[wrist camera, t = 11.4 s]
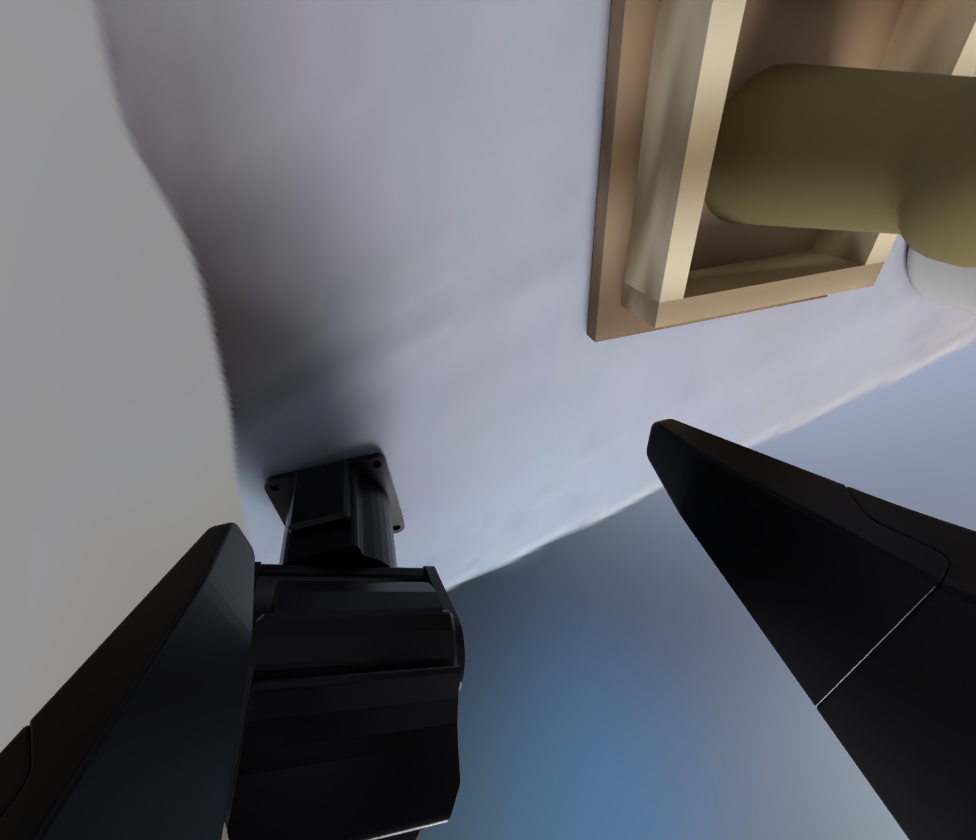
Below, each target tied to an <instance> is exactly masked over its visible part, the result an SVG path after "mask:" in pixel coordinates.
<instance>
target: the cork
mask: <svg viewBox="0 0 976 840" xmlns="http://www.w3.org/2000/svg"><path fill="white" fill-rule="evenodd" d="M704 200H705V202H706V205H707V207H708V209H709V210H710V211H711V212H712V213H713V214H714V215H715V216H716V217H717V218H718V219H720V220H723V221H727V222H731V223H737V224H752V225H767V226H783V227H798V228H813V229H829V230H844V231H859V232H874V233H890V234H901V235H902V237H903V238H904V240H905V241H906V243H907V244H908V245H909V247H910V248H911V249H912V250H914V251H916V252H918V253H919V254H921V255H923V256H925V257H926V258H929V259H933V260H936V261H940V262H943V263H947V264H951V265H955V266H959V267H963V268H976V77H970V76H957V75H944V74H930V73H917V72H904V71H891V70H878V69H864V68H851V67H838V66H825V65H812V64H798V63H789V64H778V65H772V66H770V67H769V68H767V69H765V70H763V71H761V72H759V73H757V74H755V75H753V76H752V77H751V78H750V79H749V80H748V81H747V82H746V83H744V84H743V85H742V86H741V87H740V88H739V89H738V90H737V91H736V92H735V93H734V94H733V95H732V96H731V98H730V99H729V101H728V102H727V104H726V105H725V107H724V108H723V113H722V118H721V122H720V127H719V132H718V137H717V141H716V146H715V151H714V156H713V160H712V165H711V170H710V175H709V179H708V184H707V189H706V193H705V198H704Z"/></svg>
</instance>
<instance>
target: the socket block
mask: <svg viewBox="0 0 976 840" xmlns="http://www.w3.org/2000/svg"><path fill="white" fill-rule="evenodd" d="M789 63H798V64H812V65H825V66H838V67H851V68H864V69H878V70H891V71H904V72H917V73H930V74H944V75H957V76H970V77H973V76H974V74H975V72H976V0H612V5H611V18H610V32H609V45H608V59H607V72H606V85H605V99H604V112H603V126H602V139H601V152H600V166H599V179H598V192H597V206H596V219H595V233H594V246H593V259H592V273H591V286H590V299H589V313H588V326H587V335H588V336H589V337H590V338H591V339H592V340H594V341H595V342H598V341H603V340H608V339H613V338H618V337H624V336H629V335H634V334H639V333H644V332H649V331H654V330H659V329H664V328H670V327H675V326H680V325H685V324H690V323H695V322H700V321H705V320H710V319H716V318H721V317H726V316H731V315H736V314H741V313H746V312H751V311H757V310H762V309H767V308H772V307H777V306H782V305H787V304H792V303H797V302H803V301H808V300H813V299H818V298H823V297H827V295H828V294H833V293H838V292H843V291H849V290H854V289H859V288H864V287H869V286H873V285H874V283H875V281H876V279H877V277H878V275H879V273H880V271H881V268H882V266H883V264H884V262H885V260H886V258H887V256H888V254H889V252H890V250H891V248H892V246H893V243H894V241H895V239H896V237H897V235H898V234H890V233H874V232H859V231H844V230H829V229H813V228H798V227H783V226H767V225H752V224H737V223H731V222H727V221H723V220H720V219H718V218H717V217H716V216H715V215H714V214H713V213H712V212H711V211H710V210H709V209H708V207H707V205H706V202H705V200H704V198H705V193H706V189H707V184H708V179H709V175H710V170H711V165H712V160H713V156H714V151H715V146H716V141H717V137H718V132H719V127H720V122H721V118H722V113H723V108H724V107H725V105H726V104H727V102H728V101H729V99H730V98H731V96H732V95H733V94H734V93H735V92H736V91H737V90H738V89H739V88H740V87H741V86H742V85H743V84H744V83H746V82H747V81H748V80H749V79H750V78H751V77H752V76H753V75H755V74H757V73H759V72H761V71H763V70H765V69H767V68H769V67H770V66H772V65H778V64H789Z"/></svg>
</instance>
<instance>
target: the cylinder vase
mask: <svg viewBox="0 0 976 840" xmlns="http://www.w3.org/2000/svg"><path fill="white" fill-rule="evenodd" d="M907 270H908V276H909V280H910V282H911V285H912V286H913V288H914V289H915V291H916V292H917V293H918V294H919V295H921V296H922V297H923V298H925V299H927V300H930V301H932V302H936V303H939V304H942V305H945V306H949V307H952V308H955V309H958V310H962V311H965V312H968V313H971V314H975V315H976V268H963V267H959V266H955V265H951V264H947V263H943V262H940V261H936V260H933V259H929V258H926V257H925V256H923V255H921V254H919V253H918V252H916V251H914V250H912V249H911V248H910V247H909V251H908V258H907Z"/></svg>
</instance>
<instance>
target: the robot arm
mask: <svg viewBox="0 0 976 840" xmlns="http://www.w3.org/2000/svg"><path fill="white" fill-rule="evenodd" d="M647 456H648V459H649V461H650V463H651V464H652V466H653V468H654V470H655V472H656V473H657V475H658V477H659V479H660V481H661V482H662V484H663V486H664V488H665V489H666V491H667V493H668V495H669V496H670V498H671V500H672V502H673V504H674V505H675V507H676V509H677V510H678V512H679V514H680V515H681V517H682V518H683V520H684V521H685V522H686V524H687V525H688V527H689V528H690V530H691V531H692V533H693V534H694V535H695V537H696V538H697V540H698V541H699V542H700V544H701V545H702V547H703V548H704V550H705V551H706V552H707V554H708V555H709V557H710V558H711V559H712V561H713V562H714V564H715V565H716V566H717V568H718V569H719V571H720V572H721V574H722V575H723V576H724V578H725V579H726V580H727V582H728V583H729V585H730V586H731V588H732V589H733V590H734V592H735V593H736V595H737V596H738V598H739V599H740V600H741V602H742V603H743V605H744V606H745V607H746V609H747V610H748V612H749V613H750V615H751V616H752V617H753V619H754V620H755V621H756V623H757V624H758V626H759V627H760V629H761V630H762V632H763V633H764V634H765V636H766V637H767V639H768V640H769V641H770V643H771V644H772V646H773V647H774V648H775V650H776V651H777V653H778V654H779V656H780V657H781V658H782V660H783V661H784V663H785V664H786V665H787V667H788V668H789V670H790V671H791V673H792V674H793V675H794V677H795V678H796V680H797V681H798V682H799V684H800V685H801V687H802V688H803V689H804V691H805V692H806V694H807V695H808V697H809V698H810V699H811V701H812V702H813V704H814V705H815V706H817V710H818V711H819V713H820V714H821V715H822V717H823V718H824V720H825V721H826V722H827V724H828V725H829V727H830V728H831V729H832V731H833V732H834V734H835V735H836V737H837V738H838V739H839V741H840V742H841V744H842V745H843V746H844V748H845V749H846V751H847V752H848V754H849V755H850V756H851V758H852V759H853V761H854V762H855V763H856V765H857V766H858V768H859V769H860V770H861V772H862V773H863V775H864V776H865V777H866V779H867V780H868V782H869V783H870V785H871V786H872V787H873V789H874V790H875V792H876V793H877V795H878V796H879V797H880V798H881V800H882V801H883V803H884V804H885V806H886V807H887V809H888V810H889V811H890V813H891V814H892V816H893V817H894V819H895V820H896V821H897V823H898V824H899V826H900V827H901V828H902V830H903V831H904V833H905V834H906V835H907V837H908V838H909V840H976V531H973V530H970V529H967V528H964V527H961V526H958V525H955V524H952V523H949V522H946V521H942V520H939V519H937V518H934V517H931V516H928V515H925V514H922V513H919V512H916V511H913V510H910V509H907V508H904V507H901V506H899V505H896V504H893V503H891V502H888V501H885V500H882V499H880V498H877V497H874V496H871V495H869V494H866V493H864V492H861V491H859V490H856V489H853V488H851V487H845V485H843V484H840V483H838V482H835V481H832V480H830V479H827V478H825V477H822V476H819V475H817V474H814V473H812V472H809V471H806V470H804V469H801V468H799V467H796V466H793V465H791V464H788V463H785V462H783V461H780V460H777V459H775V458H772V457H770V456H767V455H765V454H762V453H759V452H757V451H754V450H752V449H749V448H746V447H744V446H741V445H739V444H736V443H733V442H731V441H728V440H725V439H723V438H720V437H718V436H715V435H712V434H710V433H707V432H705V431H702V430H699V429H697V428H694V427H692V426H689V425H686V424H684V423H681V422H678V421H676V420H673V419H666V420H662V421H658V422H655V423H654V424H653V425H652V427H651V431H650V436H649V441H648V446H647ZM375 461H380V462H379V463H373V462H375ZM272 484H277V485H279V486H273V485H272ZM265 491H266V492H267V494H268V496H269V498H270V500H271V501H272V503H273V505H274V507H275V509H276V510H277V512H278V514H279V516H280V518H281V520H282V521H283V523H284V525H285V530H284V537H283V543H282V549H281V556H280V562H279V564H261V562H255V557H254V551H253V549H252V547H251V545H250V543H249V542H248V540H247V539H246V537H245V536H244V534H243V533H242V531H241V530H240V528H239V527H238V526H237V524H235V523H226V524H222V525H218V526H213V527H211V528H209V529H208V530H207V531H206V532H205V533H204V534H203V535H202V536H201V537H200V538H199V540H198V541H197V542H196V543H195V544H194V545H193V546H192V547H191V548H190V549H189V550H188V552H186V554H185V555H184V556H183V557H182V558H181V559H180V560H179V561H178V562H177V563H176V564H175V566H174V567H173V568H172V569H171V570H170V571H169V572H168V573H167V574H166V575H165V576H164V577H163V578H162V579H161V580H160V582H159V583H158V584H157V585H156V586H155V587H154V588H153V589H152V590H151V591H150V592H149V594H147V596H146V597H145V598H144V599H143V600H142V601H141V602H140V603H139V604H138V605H137V606H136V607H135V608H134V610H133V611H132V612H131V613H130V614H129V615H128V616H127V617H126V618H125V619H124V620H123V622H121V624H120V625H119V626H118V627H117V628H116V629H115V630H114V631H113V632H112V633H111V634H110V636H108V638H107V639H106V640H105V641H104V642H103V643H102V644H101V645H100V646H99V647H98V648H97V649H96V651H95V652H94V653H93V654H92V655H91V656H90V657H89V658H88V659H87V660H86V661H85V662H84V663H83V664H82V666H81V667H80V668H79V669H78V670H77V671H76V672H75V673H74V674H73V675H72V676H71V678H70V679H69V680H68V681H67V682H66V683H65V684H64V685H63V686H62V687H61V688H60V689H59V690H58V691H57V692H56V694H55V695H54V696H53V697H52V698H51V699H50V700H49V701H48V702H47V703H46V704H45V705H44V707H43V708H42V709H41V710H40V711H39V712H38V713H37V714H36V715H35V716H34V717H33V718H32V720H31V721H30V725H29V726H25V727H24V728H23V729H22V730H21V731H20V732H19V733H18V734H17V735H16V737H14V739H13V740H12V741H11V742H10V743H9V744H8V745H7V746H6V747H5V748H4V749H3V750H2V752H1V753H0V840H221V837H222V831H223V825H224V822H225V824H226V827H227V833H228V837H229V840H419V838H420V836H421V834H422V831H423V829H424V828H427V827H430V826H435V825H439V824H442V823H446V822H447V821H448V820H449V818H450V816H451V813H452V810H453V806H454V803H455V799H456V796H457V792H458V789H459V785H460V771H459V754H458V736H457V711H458V694H459V692H460V688H461V685H462V680H463V674H464V663H465V649H464V639H463V633H462V628H461V624H460V621H459V619H458V616H457V614H456V612H455V610H454V608H453V606H452V603H451V601H450V599H449V597H448V595H447V592H446V590H445V588H444V586H443V584H442V582H441V580H440V577H439V575H438V573H437V571H436V569H435V567H434V566H424V567H423V568H402V567H397V563H396V554H395V545H394V536H393V534H394V533H398V532H401V531H402V530H403V529H404V521H403V517H402V514H401V510H400V507H399V503H398V500H397V496H396V493H395V489H394V486H393V483H392V479H391V476H390V472H389V469H388V465H387V462H386V458H385V456H384V455H382V454H380V453H374V454H369V455H365V456H360V457H356V458H351V459H347V460H342V461H338V462H333V463H329V464H324V465H320V466H315V467H311V468H306V469H302V470H297V471H293V472H288V473H284V474H280V475H275V476H271V477H269V478H268V479H267V480H266V483H265ZM394 525H397V526H394Z"/></svg>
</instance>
